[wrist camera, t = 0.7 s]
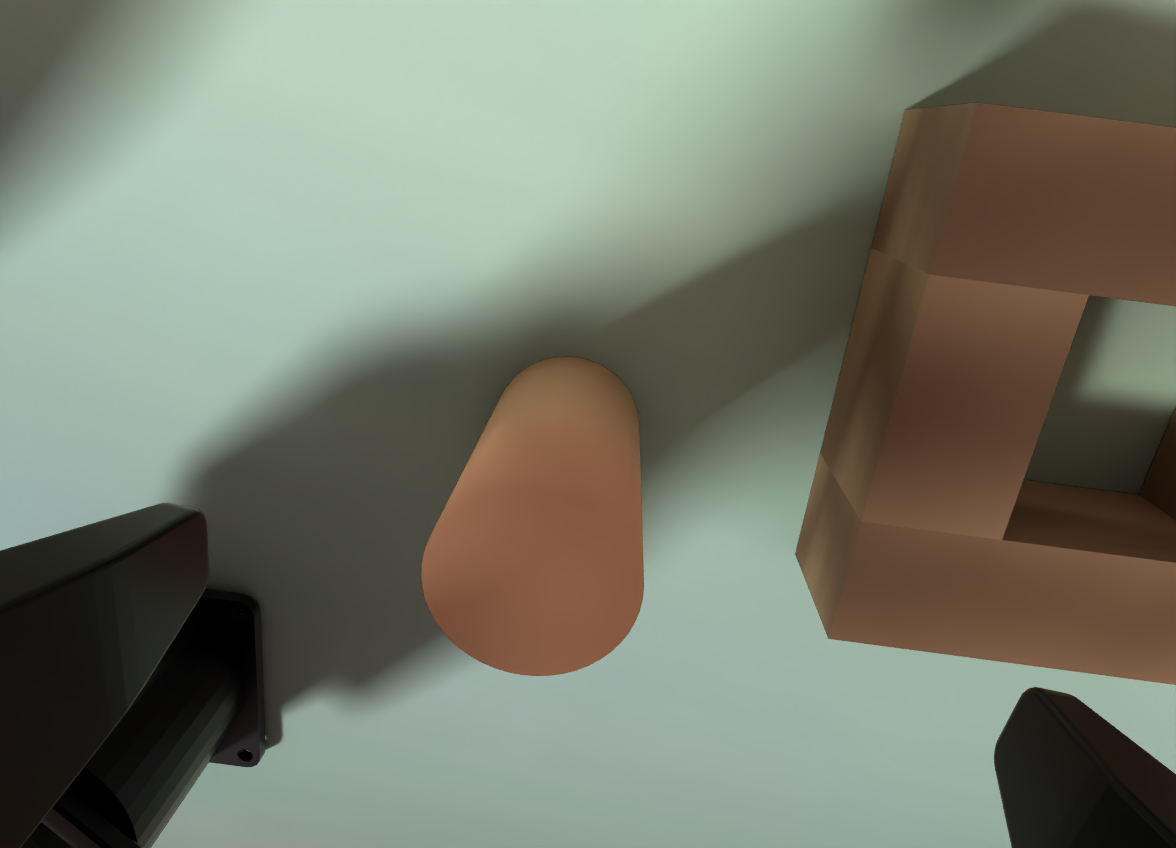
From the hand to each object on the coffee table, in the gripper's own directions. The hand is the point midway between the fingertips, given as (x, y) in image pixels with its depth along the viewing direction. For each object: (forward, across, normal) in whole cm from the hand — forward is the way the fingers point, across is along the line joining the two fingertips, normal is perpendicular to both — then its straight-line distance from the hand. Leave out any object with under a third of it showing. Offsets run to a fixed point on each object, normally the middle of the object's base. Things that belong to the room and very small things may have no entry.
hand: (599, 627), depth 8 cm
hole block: (+13, -11, 0) cm, 17 cm away
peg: (+12, +2, +4) cm, 13 cm away
